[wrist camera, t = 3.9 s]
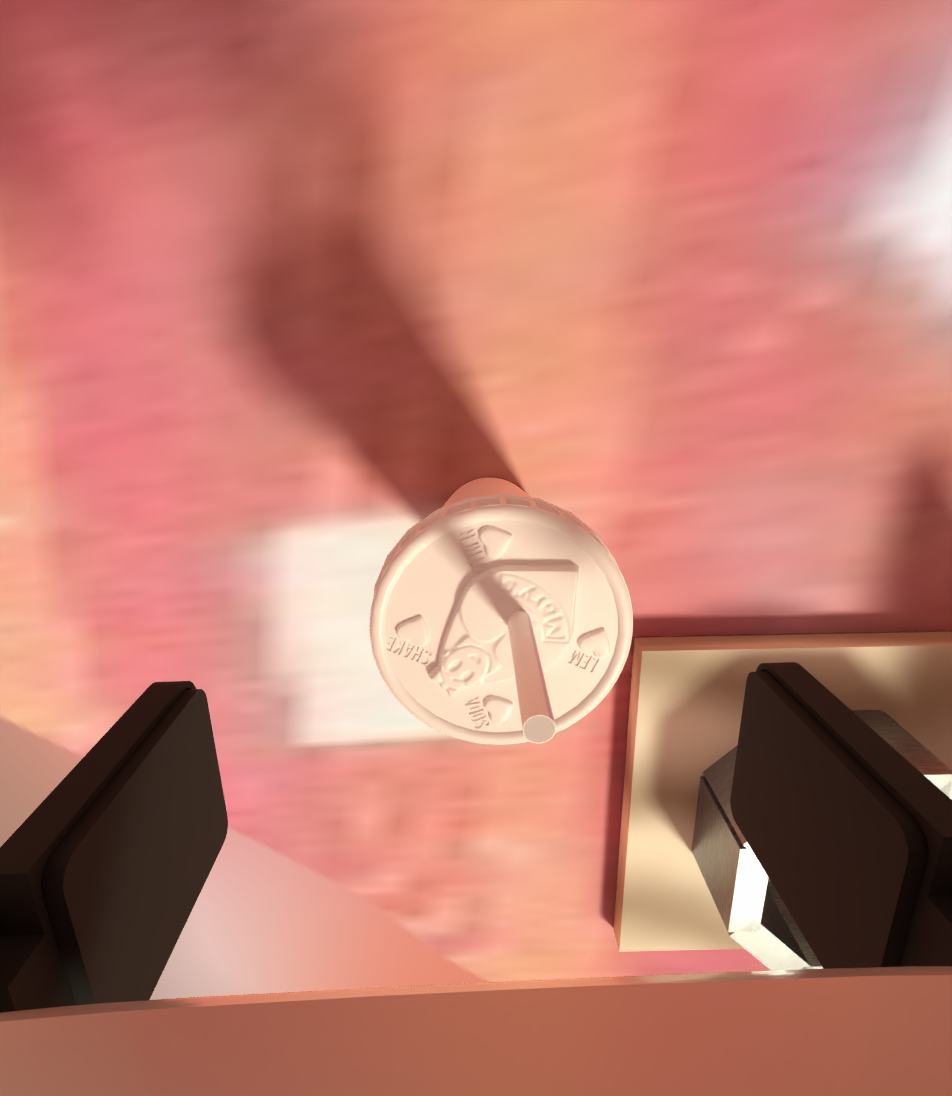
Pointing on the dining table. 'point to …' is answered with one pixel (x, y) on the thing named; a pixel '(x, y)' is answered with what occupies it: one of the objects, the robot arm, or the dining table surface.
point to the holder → (708, 767)
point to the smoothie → (500, 617)
